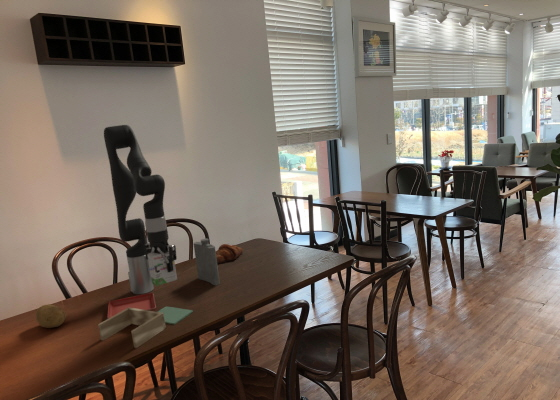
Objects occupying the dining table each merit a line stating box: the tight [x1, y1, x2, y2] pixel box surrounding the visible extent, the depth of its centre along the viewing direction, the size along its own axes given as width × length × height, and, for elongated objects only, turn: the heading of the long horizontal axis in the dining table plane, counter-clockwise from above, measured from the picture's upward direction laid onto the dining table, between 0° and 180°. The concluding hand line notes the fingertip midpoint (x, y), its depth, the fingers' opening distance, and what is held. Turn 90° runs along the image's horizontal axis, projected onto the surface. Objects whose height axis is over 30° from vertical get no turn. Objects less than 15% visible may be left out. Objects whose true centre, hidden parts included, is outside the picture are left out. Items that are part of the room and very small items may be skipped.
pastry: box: [216, 243, 244, 264], centre depth 231 cm, size 17×15×8 cm
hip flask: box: [193, 238, 221, 286], centre depth 198 cm, size 16×4×20 cm, turn 41°
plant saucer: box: [107, 292, 157, 319], centre depth 175 cm, size 18×18×3 cm
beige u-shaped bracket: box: [97, 307, 167, 349], centre depth 154 cm, size 17×14×6 cm
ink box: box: [147, 252, 178, 287], centre depth 163 cm, size 8×5×12 cm, turn 125°
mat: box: [157, 305, 194, 326], centre depth 167 cm, size 14×11×1 cm
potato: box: [35, 303, 67, 329], centre depth 167 cm, size 10×14×8 cm
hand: (163, 270), depth 163 cm, fingers closed on ink box, 6 cm apart
